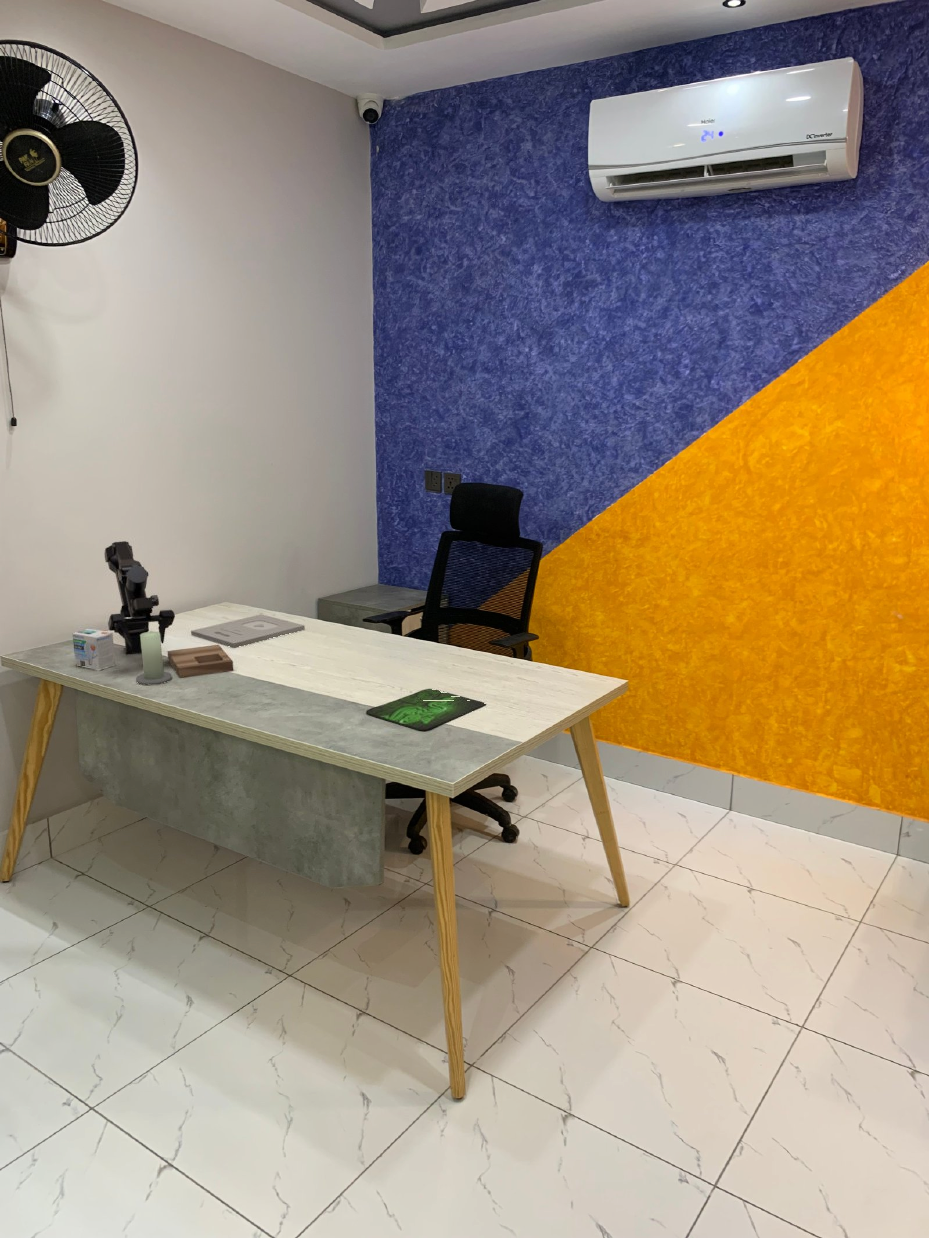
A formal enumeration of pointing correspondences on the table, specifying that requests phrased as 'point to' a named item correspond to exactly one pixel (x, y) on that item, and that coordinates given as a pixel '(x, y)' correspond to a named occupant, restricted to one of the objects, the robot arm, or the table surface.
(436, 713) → the mouse mat
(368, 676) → the table surface
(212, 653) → the puzzle board
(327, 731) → the table surface
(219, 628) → the award plaque
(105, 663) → the light bulb box
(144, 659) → the peg
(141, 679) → the coaster
